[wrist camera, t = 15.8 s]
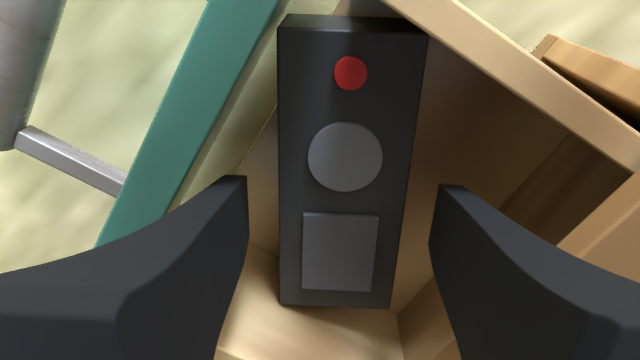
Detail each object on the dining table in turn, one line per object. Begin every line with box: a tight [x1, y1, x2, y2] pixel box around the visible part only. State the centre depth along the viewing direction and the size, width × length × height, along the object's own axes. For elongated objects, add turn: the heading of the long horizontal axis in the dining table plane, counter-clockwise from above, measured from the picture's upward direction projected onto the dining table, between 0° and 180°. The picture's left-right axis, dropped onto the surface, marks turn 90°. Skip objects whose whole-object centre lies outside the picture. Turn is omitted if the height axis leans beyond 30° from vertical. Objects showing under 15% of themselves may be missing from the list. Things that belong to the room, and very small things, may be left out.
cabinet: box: [433, 34, 640, 360], centre depth 17 cm, size 14×15×9 cm
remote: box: [277, 14, 429, 310], centre depth 15 cm, size 4×10×3 cm, turn 178°
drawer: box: [0, 0, 640, 360], centre depth 14 cm, size 17×13×7 cm
